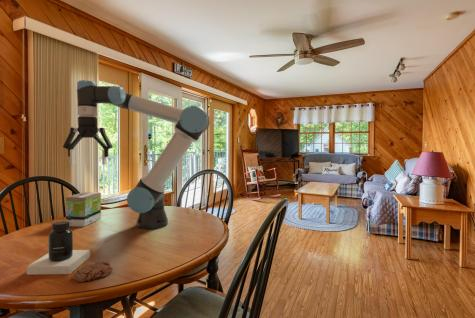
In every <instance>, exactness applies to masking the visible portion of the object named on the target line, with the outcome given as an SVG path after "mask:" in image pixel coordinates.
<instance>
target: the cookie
mask: <svg viewBox="0 0 475 318" xmlns="http://www.w3.org/2000/svg"><path fill="white" fill-rule="evenodd" d="M112 270H113V267H112V266H111V264H110V262H107V261H106V262H105V261H102V262H101V261H96V262H94V263H89V264H86V265H84V266H82V267H80V268H79V269H76V271H75V272H74V274H73V277H74V278H73V280H74V281H75V282H77V283H83V282H89V281H93V280H95V279H97V278H105V277H107V276H108V275H109V274H110V273H112Z"/></svg>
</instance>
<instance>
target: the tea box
mask: <svg viewBox="0 0 475 318" xmlns="http://www.w3.org/2000/svg"><path fill="white" fill-rule="evenodd" d="M101 205H102V194H101V192H96V191H95V192H92V191H89V192H88V191H87V192H85V191H84V192H79V193H76V194H72V195H68V196H66V198H65V221H69V227H86V226H88V225H90V224H92V223H94V222H97V221H99V220H100V219H101V218H102V215H101V214H102V206H101Z"/></svg>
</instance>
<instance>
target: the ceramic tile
mask: <svg viewBox="0 0 475 318" xmlns="http://www.w3.org/2000/svg"><path fill="white" fill-rule="evenodd" d="M90 257H91V250H90V249H73V255H72V257H70V258H69V259H66V260H63V261H50V260H49V252H48V253H46V254H45V255H43V256H41V257H39V258H38V259H36V260H35V261H33V262H32V263H30V264H29V265H27V266H26V275H30V276H31V275H70V274H72V273H73V272H74V271H75V270H77V269H78V267H80V266H81V265H82V264H84V263H85V262H86V261H87V260H88V259H89V258H90Z"/></svg>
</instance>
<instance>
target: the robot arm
mask: <svg viewBox="0 0 475 318" xmlns="http://www.w3.org/2000/svg"><path fill="white" fill-rule="evenodd" d="M76 84H77V85H76V94H77V95H76V96H77V97H76V98H77V116H78V117H77V127H74V126H73V127H72V126H71V127H70V129H69V134H68V135H67V137H66V139H65V141H64V143H63V145H62V147H63V149H67V156H68V158H69V161H70V163H69V165H76V149H74V148H75V147H76V146H77V145H78V144H79V142H80V141H81V140H82V139H84V138H85V139H86V138H90V139H92V138H93V139H94V140H95V141H96V142H97V143H98V144H99V145H100V147H101V148H102V149H101V159H102V160H101V162H102V163H101V164H102V165H107V157H109V150H110V149H113V147H114V146H113V145H112V143H111V140H110V139H109V137H108V135H107V133H106V129H105V127H99V128H98V118H97V117H98V104H107V105H111V106H114V107H118V108H120V109H124V110H129V111H132V112H136V113H138V114H141V115H146V116H149V117H152V118H156V119H159V120H163V121H165V122H170V123H173V124H175V126H174V131H175V132H174V133H173V135H172V136H171V138H170V140H169V141H168V142H167V144H166V145H165V147H164V149H163V151H162V152H161V153H160V155H159V157H158V158H157V160H156V161H155V163H154V164H153V166H152V167H151V169H150V170H149V171H148V173H147V174H146V175H145V176H142V177H141V178H140V179H139V180H138V182H137V184H136V185H135V187H133V188H132V189H131V190H130V191H128V194H127V197H126V202H127V206H128V207H129V209H130V210H131V211H133V212H134V213H137V214H138V217H137V220H136V227H137V228H139V229H143V230H154V229H159V228H160V229H161V228H163V227H166V226H167V225H168V224H169V222H168V220H169V219H168V218H169V217H167V216H168V215H167V213H166V211H165V188H166V187H165V184H166V183H167V181H168V180H169V178H170V177H171V175H172V174H173V172H174V170H175V169H176V168H177V166H178V165H179V163H180V161H181V159H183V157H184V155H185V154H186V152H187V151H188V149H189V147H190V146H191V144H192V143H194V142H198V140H199V138H200V137H201V136H202V134H203V133H204V132H205V131H207V130H208V128H209V127H210V122H211V121H210V117H209V114H208V113H207V111H206V110H205V109H203V107H200V106H197V105H189V106H186V107H185V108H183V109H181V108H178V107H174V106H171V105H169V104H168V105H167V104H165V103H161V102H158V101H154V100H150V99H148V98H144V97H140V96H137V95H134V94H130V93H127V92H125V89H124V88H123V87H122V86H118V85H117V86H115V85H112V86H111V85H109V86H108V85H105V86H104V85H97V83H96V82H95V81H93V80H84V79H81V80H78V81H77V83H76ZM77 132H78V134H77V135H76V133H77ZM97 133H100V135H101V137H102V138H101V137H100V136H99V135H98V134H97ZM75 135H76V137H75ZM74 137H75V138H74ZM102 139H103V140H102Z"/></svg>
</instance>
